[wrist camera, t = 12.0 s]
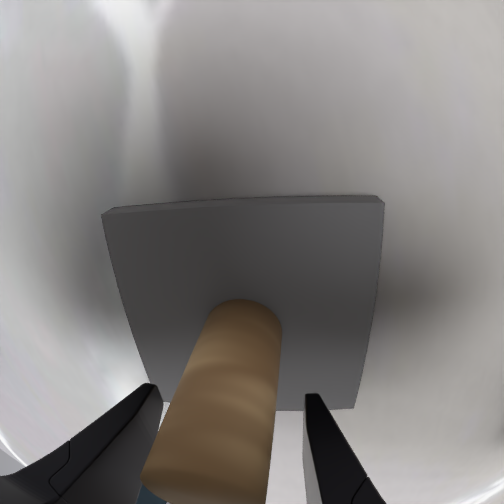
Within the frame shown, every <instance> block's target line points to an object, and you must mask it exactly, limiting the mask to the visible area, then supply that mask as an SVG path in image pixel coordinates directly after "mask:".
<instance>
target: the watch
mask: <svg viewBox="0 0 504 504" xmlns="http://www.w3.org/2000/svg"><path fill="white" fill-rule="evenodd" d="M166 503H167V501H164V500H163V499H161V498H159V497H158V496H156V495H154V494H153V493H152V492H150V491H149V490H148V489H147V488H146V487H145V486H144V485H143V484H142V486H141V489H140V492H139V495H138V498H137V501H136V504H166Z"/></svg>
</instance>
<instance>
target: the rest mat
mask: <svg viewBox="0 0 504 504" xmlns="http://www.w3.org/2000/svg"><path fill="white" fill-rule="evenodd" d="M384 206H385V203H384V202H383V201H382V200H381V199H380V198H378V197H377V196H295V197H262V198H239V199H219V200H202V201H187V202H173V203H160V204H148V205H136V206H125V207H115V208H112V209H110V210H109V211H107V212H105V213H104V214H102V215H101V218H102V223H103V227H104V232H105V237H106V241H107V245H108V250H109V254H110V258H111V262H112V266H113V270H114V273H115V277H116V281H117V285H118V288H119V292H120V295H121V299H122V302H123V305H124V309H125V312H126V315H127V318H128V321H129V325H130V328H131V331H132V334H133V337H134V340H135V343H136V345H137V348H138V351H139V354H140V357H141V359H142V362H143V365H144V368H145V370H146V373H147V375H148V378H149V381H150V383H151V384H155V385H157V386H158V389H159V391H160V394H161V396H162V399H163V402H170V403H171V401H172V398H173V396H174V394H175V391H176V389H177V387H178V384H179V382H180V380H181V377H182V375H183V373H184V370H185V368H186V366H187V363H188V361H189V359H190V356H191V354H192V352H193V350H194V347H195V345H196V343H197V340H198V338H199V336H200V333H201V331H202V329H203V327H204V324H205V322H206V320H207V317H208V315H209V314H210V312H211V311H212V310H213V309H214V308H215V307H216V306H217V305H219V304H221V303H223V302H225V301H229V300H234V299H246V300H251V301H255V302H257V303H260V304H262V305H264V306H265V307H267V308H268V309H270V310H271V311H272V312H273V313H274V314H275V316H276V317H277V318H278V320H279V322H280V324H281V328H282V341H281V354H280V367H279V379H278V390H277V401H276V411H304V399H305V394H307V393H318V394H319V395H320V396H321V398H322V399H323V401H324V403H325V404H326V406H327V408H328V410H335V409H351V408H354V406H355V402H356V398H357V394H358V389H359V385H360V381H361V376H362V372H363V367H364V362H365V357H366V352H367V347H368V342H369V336H370V331H371V325H372V319H373V312H374V306H375V299H376V292H377V284H378V276H379V267H380V258H381V247H382V236H383V222H384Z"/></svg>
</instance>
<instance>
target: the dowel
mask: <svg viewBox="0 0 504 504" xmlns="http://www.w3.org/2000/svg"><path fill="white" fill-rule="evenodd" d="M281 341H282V328H281V324H280V322H279V320H278V318H277V317H276V316H275V314H274V313H273V312H272V311H271V310H270V309H268V308H267V307H265V306H264V305H262V304H260V303H257V302H255V301H251V300H246V299H234V300H229V301H225V302H223V303H221V304H219V305H217V306H216V307H215V308H214V309H213V310H212V311H211V312H210V314H209V315H208V317H207V320H206V322H205V324H204V327H203V329H202V331H201V333H200V336H199V338H198V340H197V343H196V345H195V347H194V350H193V352H192V354H191V356H190V359H189V361H188V363H187V366H186V368H185V370H184V373H183V375H182V377H181V380H180V382H179V384H178V387H177V389H176V391H175V394H174V396H173V398H172V401H171V403H170V405H169V408H168V410H167V412H166V415H165V417H164V419H163V422H162V424H161V426H160V429H159V431H158V434H157V436H156V438H155V441H154V443H153V445H152V448H151V450H150V453H149V455H148V457H147V460H146V462H145V465H144V467H143V469H142V472H141V474H140V480H141V482H142V484H143V485H144V486H145V487H146V488H147V489H148V490H149V491H150V492H152V493H153V494H154V495H156V496H158V497H159V498H161V499H163V500H164V501H167V502H169V503H171V504H265V502H266V494H267V486H268V478H269V469H270V460H271V451H272V442H273V432H274V422H275V412H276V401H277V390H278V379H279V367H280V354H281Z"/></svg>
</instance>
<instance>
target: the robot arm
mask: <svg viewBox="0 0 504 504" xmlns="http://www.w3.org/2000/svg"><path fill="white" fill-rule="evenodd" d="M162 410H163V399H162V396H161V394H160V391H159V389H158V386H157V385H155V384H150V383H144V384H142V385H141V386H140V387H138V388H137V389H136V390H135V391H133V392H132V393H131V394H129V395H128V396H127V397H126V398H124V399H123V400H122V401H120V402H119V403H118V404H116V405H115V406H114V407H113V408H111V409H110V410H109V411H107V412H106V413H105V414H103V415H102V416H101V417H99V418H98V419H97V420H95V421H94V422H93V423H91V424H90V425H89V426H87V427H86V428H85V429H83V430H82V431H81V432H79V433H78V434H77V435H75V436H74V437H73V438H71V439H70V441H67V442H66V443H64V444H63V445H61V446H60V447H59V448H57V449H56V450H54V451H53V452H51V453H50V454H48V455H46V456H45V457H43V458H41V459H40V460H38V461H36V462H34V463H32V464H30V465H29V466H27V467H25V468H23V469H21V470H19V471H17V472H16V473H13V474H10V475H6V476H0V504H136V501H137V498H138V495H139V492H140V489H141V486H142V482H141V480H140V474H141V472H142V469H143V467H144V465H145V462H146V460H147V457H148V455H149V453H150V450H151V448H152V445H153V443H154V441H155V438H156V436H157V434H158V429H159V424H160V419H161V415H162ZM303 469H304V478H305V488H306V498H307V504H386V502H385V501H384V500H383V499H382V497H381V496H380V494H379V493H378V491H377V490H376V488H375V486H374V485H373V483H372V482H371V480H370V478H369V477H367V473H366V472H365V470H364V468H363V467H362V465H361V463H360V462H359V460H358V458H357V457H356V455H355V453H354V452H353V450H352V448H351V447H350V445H349V443H348V442H347V440H346V438H345V437H344V435H343V433H342V432H341V430H340V428H339V427H338V425H337V423H336V421H335V420H334V418H333V416H332V415H331V413H330V411H329V410H328V408H327V406H326V404H325V403H324V401H323V399H322V398H321V396H320V395H319V394H318V393H307V394H305V399H304V415H303Z"/></svg>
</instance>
